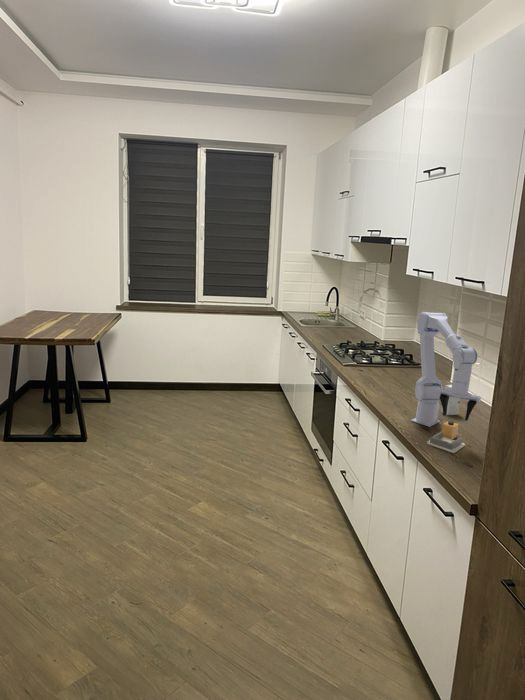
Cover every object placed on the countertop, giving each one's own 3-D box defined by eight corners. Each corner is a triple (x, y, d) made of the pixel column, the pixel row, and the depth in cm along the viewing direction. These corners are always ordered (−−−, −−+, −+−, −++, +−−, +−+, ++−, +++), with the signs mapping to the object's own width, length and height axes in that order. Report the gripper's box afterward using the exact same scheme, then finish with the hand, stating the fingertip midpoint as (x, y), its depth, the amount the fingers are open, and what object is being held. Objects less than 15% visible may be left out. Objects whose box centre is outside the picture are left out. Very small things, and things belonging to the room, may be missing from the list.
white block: (447, 415, 216) (452, 388, 213) (440, 412, 220) (444, 384, 217) (458, 414, 218) (463, 387, 215) (451, 411, 222) (455, 384, 219)
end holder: (438, 437, 191) (439, 429, 190) (464, 445, 184) (466, 438, 184) (426, 443, 183) (427, 436, 183) (453, 453, 177) (455, 445, 176)
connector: (448, 432, 197) (451, 417, 195) (458, 435, 194) (461, 420, 193) (440, 437, 191) (443, 421, 190) (451, 440, 189) (453, 425, 187)
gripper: (437, 379, 184) (432, 415, 186) (480, 387, 176) (474, 424, 179) (442, 375, 189) (437, 410, 192) (484, 383, 182) (478, 420, 184)
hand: (455, 417), depth 186 cm, fingers open, 7 cm apart
